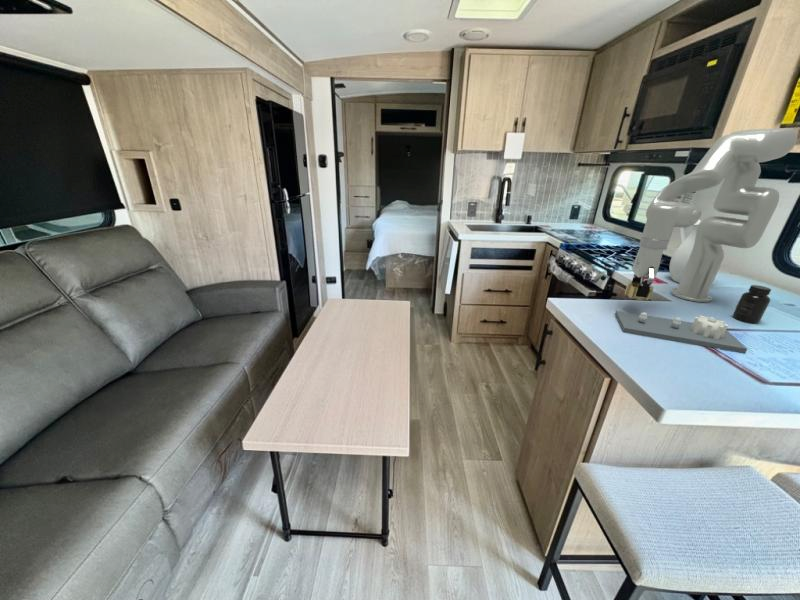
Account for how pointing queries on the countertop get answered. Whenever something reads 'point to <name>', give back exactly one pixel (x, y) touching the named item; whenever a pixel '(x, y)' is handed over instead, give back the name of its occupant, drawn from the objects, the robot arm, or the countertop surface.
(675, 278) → the pitcher
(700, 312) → the countertop surface
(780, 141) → the robot arm
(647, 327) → the gear board
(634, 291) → the brass gear
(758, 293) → the supplement bottle
